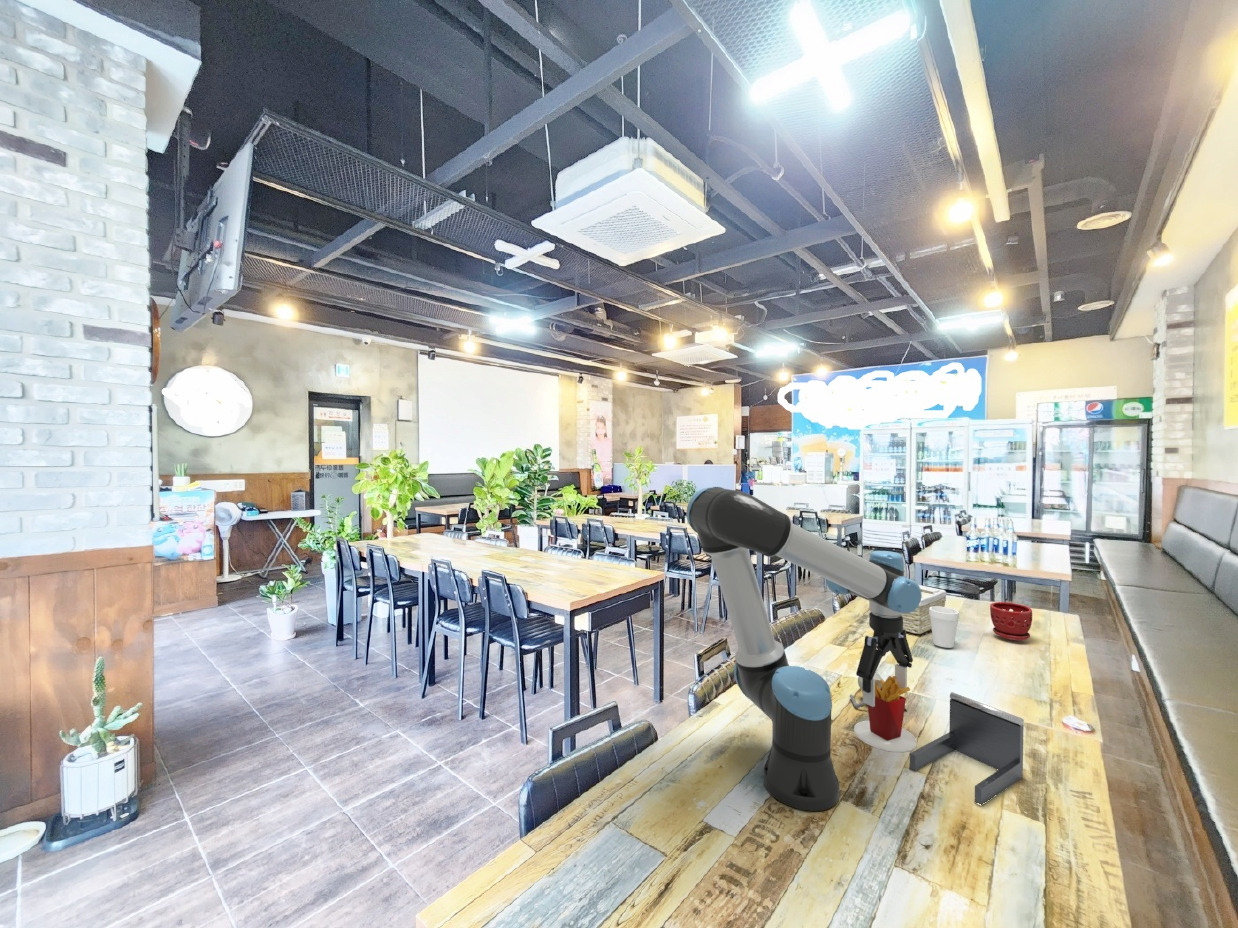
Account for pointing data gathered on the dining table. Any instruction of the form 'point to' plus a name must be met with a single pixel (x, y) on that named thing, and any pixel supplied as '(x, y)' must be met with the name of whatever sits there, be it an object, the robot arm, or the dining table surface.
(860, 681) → the toilet paper roll
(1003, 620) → the plant pot
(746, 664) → the robot arm
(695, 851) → the dining table surface
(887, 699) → the french fries
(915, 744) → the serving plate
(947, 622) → the foam cup
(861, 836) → the dining table surface
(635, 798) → the dining table surface
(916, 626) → the storage basket
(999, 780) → the gray bracket
